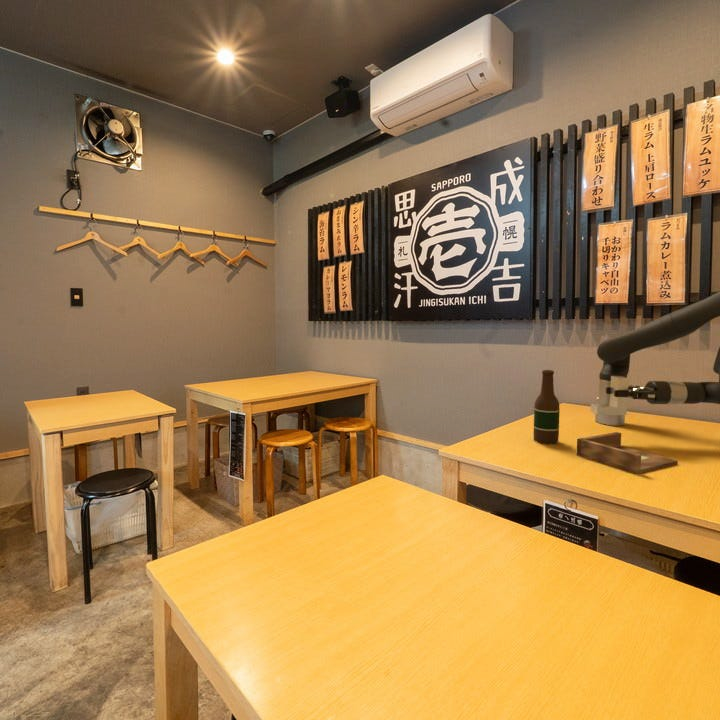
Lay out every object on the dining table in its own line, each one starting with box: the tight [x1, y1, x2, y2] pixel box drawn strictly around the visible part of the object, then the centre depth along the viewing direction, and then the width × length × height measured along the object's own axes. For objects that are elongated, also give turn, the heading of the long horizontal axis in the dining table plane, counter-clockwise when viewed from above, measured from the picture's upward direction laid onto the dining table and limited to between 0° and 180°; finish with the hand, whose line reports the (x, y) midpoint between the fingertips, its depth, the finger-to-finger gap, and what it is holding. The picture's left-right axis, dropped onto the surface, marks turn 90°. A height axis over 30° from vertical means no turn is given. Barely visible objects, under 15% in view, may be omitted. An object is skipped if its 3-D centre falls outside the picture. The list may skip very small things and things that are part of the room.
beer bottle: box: [533, 369, 561, 445], centre depth 143 cm, size 8×8×24 cm
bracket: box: [590, 376, 629, 416], centre depth 140 cm, size 9×5×12 cm, turn 85°
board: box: [576, 445, 679, 475], centre depth 124 cm, size 18×18×1 cm
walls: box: [576, 431, 641, 470], centre depth 124 cm, size 18×18×4 cm
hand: (610, 391), depth 140 cm, fingers closed on bracket, 5 cm apart
